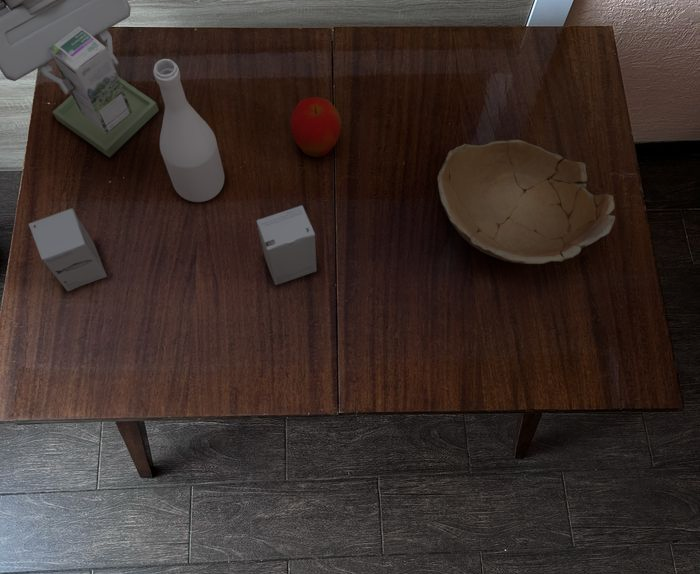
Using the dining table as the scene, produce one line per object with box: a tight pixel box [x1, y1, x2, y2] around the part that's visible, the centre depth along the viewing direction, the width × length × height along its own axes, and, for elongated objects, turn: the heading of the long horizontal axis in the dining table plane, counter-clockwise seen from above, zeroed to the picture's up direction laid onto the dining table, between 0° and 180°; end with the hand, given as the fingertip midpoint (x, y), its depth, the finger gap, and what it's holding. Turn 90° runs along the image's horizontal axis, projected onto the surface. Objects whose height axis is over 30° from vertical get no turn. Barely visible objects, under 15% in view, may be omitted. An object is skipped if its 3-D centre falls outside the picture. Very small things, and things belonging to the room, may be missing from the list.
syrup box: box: [49, 26, 132, 134], centre depth 103 cm, size 6×6×14 cm
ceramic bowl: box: [436, 139, 616, 265], centre depth 123 cm, size 30×27×15 cm
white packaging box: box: [28, 208, 108, 292], centre depth 116 cm, size 7×7×13 cm
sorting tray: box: [52, 76, 160, 158], centre depth 132 cm, size 14×14×2 cm
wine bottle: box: [152, 58, 225, 203], centre depth 115 cm, size 10×10×30 cm
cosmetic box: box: [256, 205, 318, 286], centre depth 117 cm, size 8×6×15 cm
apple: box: [290, 96, 342, 158], centre depth 127 cm, size 9×9×12 cm
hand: (92, 79), depth 101 cm, fingers closed on syrup box, 6 cm apart
